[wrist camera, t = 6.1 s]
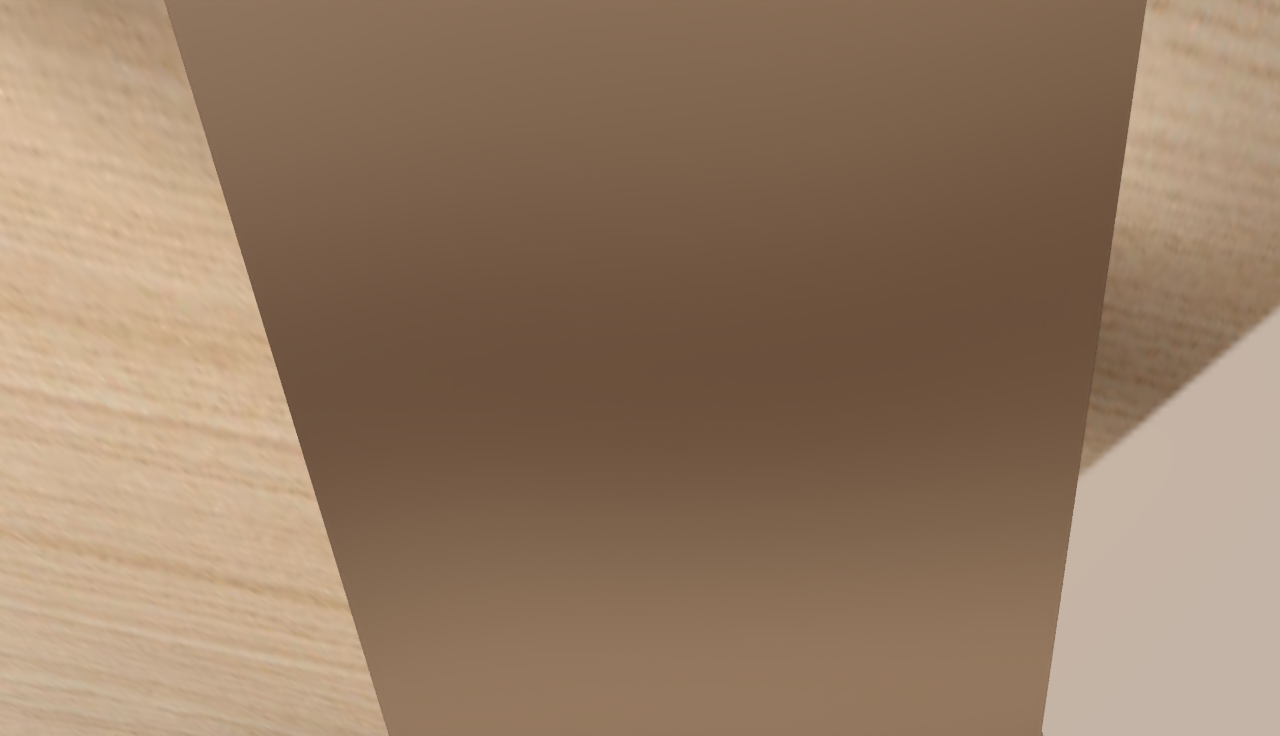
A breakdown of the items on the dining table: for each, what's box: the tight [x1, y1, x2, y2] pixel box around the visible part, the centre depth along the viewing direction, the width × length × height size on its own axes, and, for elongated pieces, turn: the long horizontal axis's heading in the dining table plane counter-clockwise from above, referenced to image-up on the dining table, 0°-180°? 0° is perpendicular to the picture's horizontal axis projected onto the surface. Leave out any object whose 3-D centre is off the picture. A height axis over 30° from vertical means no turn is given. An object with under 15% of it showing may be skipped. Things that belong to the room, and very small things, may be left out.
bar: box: [164, 0, 1147, 736], centre depth 11 cm, size 22×4×6 cm, turn 5°
